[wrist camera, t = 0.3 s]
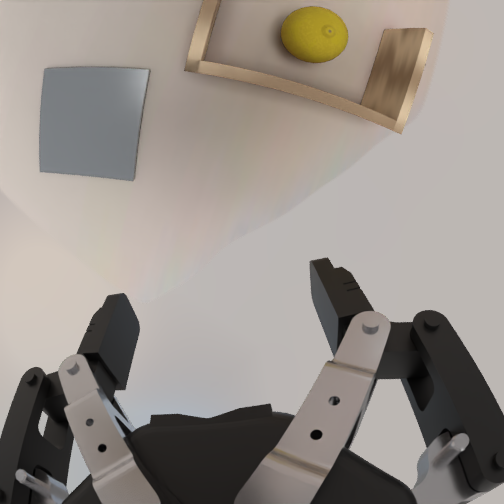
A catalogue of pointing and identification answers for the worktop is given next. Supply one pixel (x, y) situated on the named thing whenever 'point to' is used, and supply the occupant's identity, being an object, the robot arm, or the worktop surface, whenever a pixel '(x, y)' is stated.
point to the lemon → (314, 34)
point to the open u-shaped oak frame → (372, 106)
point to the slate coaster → (91, 120)
